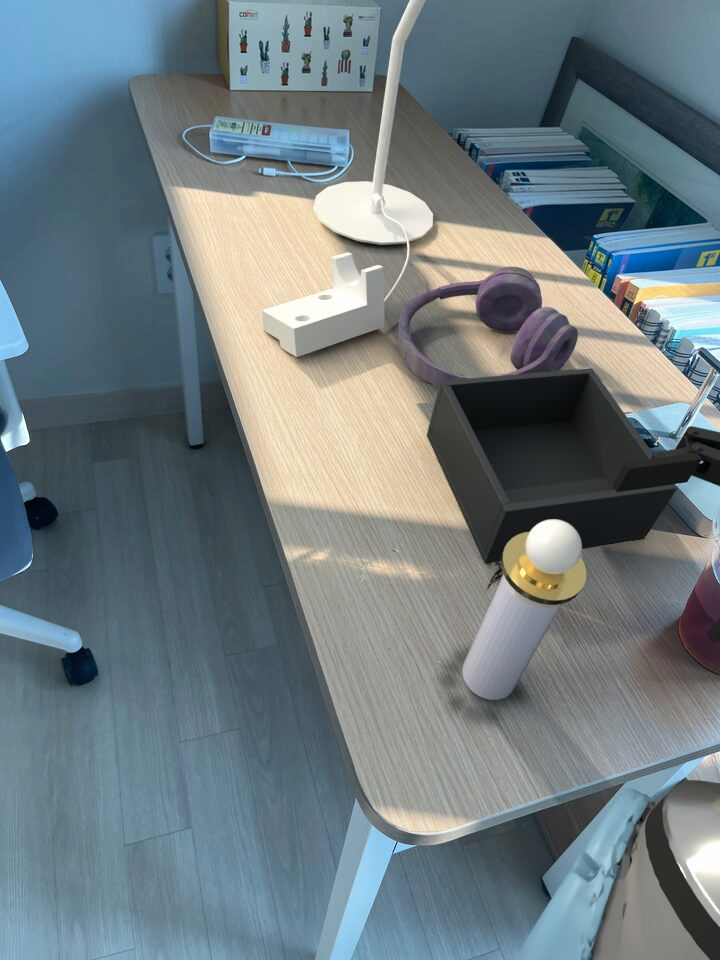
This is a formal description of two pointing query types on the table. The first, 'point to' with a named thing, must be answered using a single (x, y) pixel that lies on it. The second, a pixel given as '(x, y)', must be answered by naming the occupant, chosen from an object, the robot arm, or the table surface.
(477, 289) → the headphones
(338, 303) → the bracket
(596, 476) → the bin
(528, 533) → the perfume bottle
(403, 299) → the table surface
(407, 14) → the desk lamp
